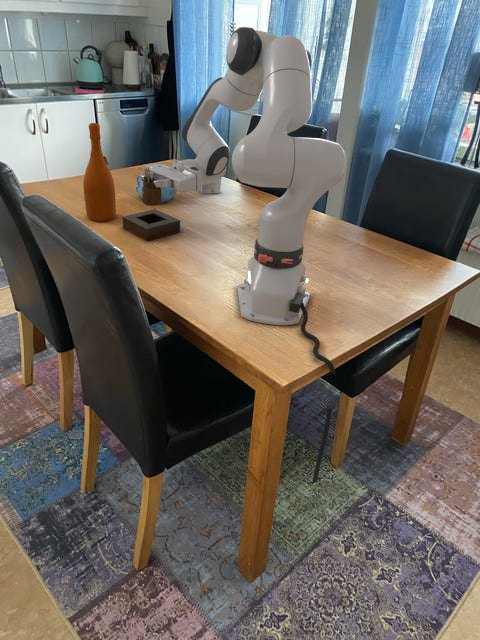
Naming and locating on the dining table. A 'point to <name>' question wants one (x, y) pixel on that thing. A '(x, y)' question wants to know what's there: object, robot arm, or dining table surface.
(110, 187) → the wine bottle
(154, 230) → the socket block
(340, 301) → the dining table surface
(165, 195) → the teapot
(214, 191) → the container
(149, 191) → the utensil holder
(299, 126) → the robot arm
